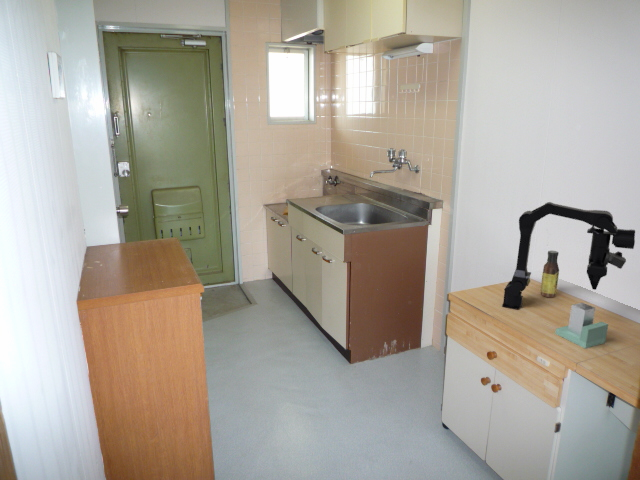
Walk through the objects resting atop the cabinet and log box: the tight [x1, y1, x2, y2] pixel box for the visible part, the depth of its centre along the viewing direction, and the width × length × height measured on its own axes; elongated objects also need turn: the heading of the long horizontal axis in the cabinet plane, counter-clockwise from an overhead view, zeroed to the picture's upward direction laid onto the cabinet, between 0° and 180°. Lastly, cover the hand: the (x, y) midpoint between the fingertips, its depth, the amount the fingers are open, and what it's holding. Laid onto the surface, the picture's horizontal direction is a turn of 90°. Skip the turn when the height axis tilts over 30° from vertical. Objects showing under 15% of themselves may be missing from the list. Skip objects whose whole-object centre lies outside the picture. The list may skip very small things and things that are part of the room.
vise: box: [554, 321, 609, 349], centre depth 165 cm, size 12×10×7 cm
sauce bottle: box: [540, 250, 560, 299], centre depth 202 cm, size 6×6×20 cm
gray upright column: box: [567, 302, 596, 336], centre depth 165 cm, size 5×5×10 cm
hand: (594, 285), depth 176 cm, fingers open, 9 cm apart
